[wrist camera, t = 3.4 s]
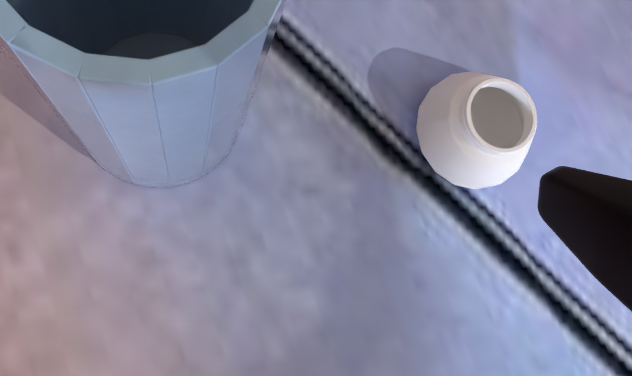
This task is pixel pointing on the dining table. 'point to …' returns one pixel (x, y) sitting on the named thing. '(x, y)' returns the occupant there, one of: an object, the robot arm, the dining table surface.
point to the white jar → (476, 128)
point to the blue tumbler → (145, 76)
